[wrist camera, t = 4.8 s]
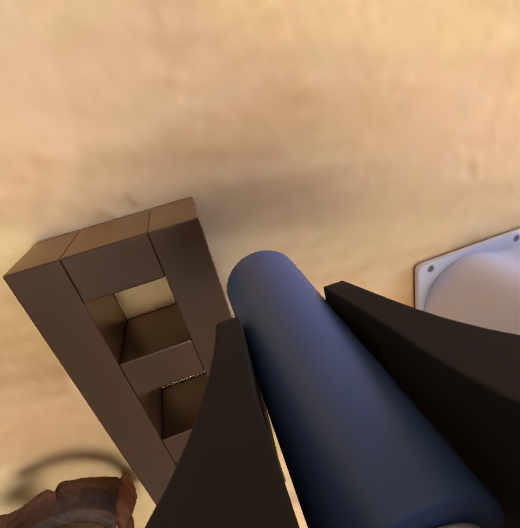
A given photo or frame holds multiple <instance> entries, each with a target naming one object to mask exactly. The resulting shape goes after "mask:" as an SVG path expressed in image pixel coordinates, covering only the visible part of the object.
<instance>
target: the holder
mask: <svg viewBox="0 0 520 528" xmlns="http://www.w3.org/2000/svg"><path fill="white" fill-rule="evenodd" d="M165 276H166V279H167V281H168V284H169V286H170V288H171V291H172V293H173V296H174V298H175V300H176V303H177V304H174V305H171V306H168V307H165V308H162V309H159V310H156V311H153V312H150V313H147V314H144V315H141V316H138V317H135V318H132V319H130V320H128V321H127V320H126V318H125V316H124V314H123V312H122V310H121V308H120V306H119V304H118V302H117V300H116V298H115V296H114V293H117V292H120V291H123V290H126V289H129V288H132V287H135V286H139V285H142V284H145V283H148V282H151V281H154V280H157V279H160V278H163V277H165ZM3 278H4V280H5V281H6V283H7V284H8V286H9V287H10V289H11V290H12V292H13V293H14V295H15V296H16V298H17V299H18V301H19V302H20V304H21V305H22V307H23V308H24V309H25V311H26V312H27V314H28V315H29V317H30V318H31V320H32V321H33V323H34V324H35V326H36V327H37V329H38V330H39V332H40V333H41V335H42V336H43V338H44V339H45V341H46V342H47V344H48V345H49V347H50V348H51V350H52V351H53V352H54V354H55V355H56V357H57V358H58V360H59V361H60V363H61V364H62V366H63V367H64V369H65V370H66V372H67V373H68V375H69V376H70V378H71V379H72V381H73V382H74V384H75V385H76V387H77V388H78V390H79V391H80V393H81V394H82V396H83V397H84V398H85V400H86V401H87V403H88V404H89V406H90V407H91V409H92V410H93V412H94V413H95V415H96V416H97V418H98V419H99V421H100V422H101V424H102V425H103V427H104V428H105V430H106V431H107V433H108V434H109V436H110V437H111V439H112V440H113V442H114V443H115V444H116V446H117V447H118V449H119V450H120V452H121V453H122V455H123V456H124V458H125V459H126V461H127V462H128V464H129V465H130V467H131V468H132V470H133V471H134V473H135V474H136V476H137V477H138V479H139V480H140V482H141V483H142V485H143V486H144V487H145V489H146V490H147V492H148V493H149V495H150V496H151V498H152V499H153V501H154V502H155V504H156V505H157V504H158V502H159V500H160V498H161V496H162V495H163V493H164V491H165V489H166V487H167V485H168V483H169V481H170V479H171V477H172V474H173V472H174V470H175V468H176V466H177V463H178V461H179V459H180V457H181V454H182V452H183V450H184V447H185V445H186V443H187V440H188V438H189V435H190V433H191V430H192V428H193V425H194V422H195V419H196V417H197V414H198V411H199V408H200V405H201V401H202V398H203V394H204V391H205V387H206V384H207V380H208V376H209V372H210V367H211V362H212V357H213V352H214V345H215V334H216V329H215V327H216V326H217V324H218V323H220V322H223V321H226V320H229V319H231V318H232V317H231V314H230V311H229V308H228V305H227V302H226V299H225V296H224V293H223V290H222V286H221V283H220V280H219V277H218V274H217V271H216V268H215V265H214V262H213V259H212V256H211V253H210V250H209V247H208V244H207V241H206V238H205V235H204V232H203V229H202V226H201V223H200V220H199V217H198V214H197V211H196V208H195V205H194V202H193V199H192V197H189V198H186V199H182V200H179V201H175V202H172V203H169V204H165V205H162V206H158V207H155V208H152V209H151V210H150V209H149V210H145V211H142V212H139V213H135V214H132V215H129V216H125V217H122V218H118V219H115V220H112V221H108V222H105V223H101V224H98V225H95V226H91V227H88V228H85V229H82V230H77V231H74V232H71V233H67V234H64V235H60V236H57V237H54V238H50V239H47V240H44V241H40V242H37V243H36V244H35V245H34V246H33V247H32V248H31V249H30V250H29V251H28V252H27V253H26V254H25V255H24V256H23V257H22V258H21V259H20V260H19V261H18V262H17V263H16V264H15V265H14V266H13V267H12V268H11V269H10V270H9V271H8V272H7V273H6V274H5V275H4V276H3ZM204 370H205V373H206V374H203V375H200V376H197V377H195V378H192V379H189V380H187V381H184V382H181V383H178V384H176V385H173V386H170V387H167V388H165V389H163V390H162V388H161V386H164V385H167V384H170V383H172V382H175V381H178V380H181V379H183V378H186V377H189V376H192V375H194V374H197V373H200V372H202V371H204ZM279 463H280V462H279ZM280 467H281V465H280ZM281 472H282V475H283V479H284V482H286V480H285V477H284V474H283V471H282V468H281Z"/></svg>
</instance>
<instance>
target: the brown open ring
mask: <svg viewBox="0 0 520 528" xmlns="http://www.w3.org/2000/svg"><path fill="white" fill-rule="evenodd" d="M136 499H137V494H136V489H135V486H134V484H133V483H132V481H131V480H130V478H129V477H128V476H127V475H126V474H124V475H123V476H122V477H121V478H120V479H119V478H118V477H89V478H80V479H76V480H70V481H64V482H61V483H60V484H59V485H58V486H57V488H56V491H55V492H53V491H51V490H45V491H44V492H42V493H40V494H39V495H37V496H36V497H34V498H33V499H32V500H31V501H30V502H28V503H27V504H25V505H24V506H23V507H21V508H20V509H18V510H16V511H14V512H12V513H10V514H4V515H0V528H57V527H60V526H62V525H67V524H71V523H75V522H92V523H96V524H99V525H102V526H104V527H106V528H115V527H116V524H117V525H118V528H134V520H133V517H132V513H133V510H134V507H135V503H136Z"/></svg>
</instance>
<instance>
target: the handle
mask: <svg viewBox="0 0 520 528" xmlns="http://www.w3.org/2000/svg"><path fill="white" fill-rule="evenodd" d="M227 293H228V297H229V300H230V303H231V306H232V309H233V312H234V315H235V317H237V316H238V318H239V320H240V323H241V325H242V328H243V331H244V334H245V338H246V341H247V344H248V347H249V351H250V354H251V358H252V362H253V366H254V370H255V374H256V378H257V381H258V384H259V387H260V390H261V393H262V396H263V399H264V402H265V405H266V407H267V410H268V413H269V416H270V419H271V422H272V425H273V428H274V431H275V434H276V436H277V439H278V442H279V445H280V448H281V451H282V454H283V457H284V460H285V463H286V466H287V468H288V471H289V474H290V477H291V480H292V483H293V486H294V489H295V492H296V495H297V497H298V500H299V503H300V506H301V509H302V512H303V515H304V518H305V521H306V524H307V526H308V528H503V525H504V519H505V517H504V512H503V509H502V507H501V505H500V503H499V502H498V501H497V500H496V499H495V497H494V496H493V495H492V494H491V493H490V492H489V490H488V489H487V488H486V487H485V486H484V485H483V483H482V482H481V481H480V480H479V479H478V478H477V476H476V475H475V474H474V473H473V472H472V471H471V469H470V468H469V467H468V466H467V465H466V464H465V462H464V461H463V460H462V459H461V458H460V457H459V455H458V454H457V453H456V452H455V451H454V450H453V448H452V447H451V446H450V445H449V444H448V443H447V441H446V440H445V439H444V438H443V437H442V436H441V434H440V433H439V432H438V431H437V430H436V429H435V427H434V426H433V425H432V424H431V423H430V422H429V420H428V419H427V418H426V417H425V416H424V415H423V413H422V412H421V411H420V410H419V409H418V408H417V406H416V405H415V404H414V403H413V402H412V401H411V399H410V398H409V397H408V396H407V395H406V394H405V392H404V391H403V390H402V389H401V388H400V387H399V386H398V384H397V383H396V382H395V381H394V380H393V379H392V377H391V376H390V375H389V374H388V373H387V372H386V370H385V369H384V368H383V367H382V366H381V365H380V363H379V362H378V361H377V360H376V359H375V358H374V356H373V355H372V354H371V353H370V352H369V351H368V349H367V348H366V347H365V346H364V345H363V344H362V342H361V341H360V340H359V339H358V338H357V337H356V335H355V334H354V333H353V332H352V331H351V330H350V328H349V327H348V326H347V325H346V324H345V323H344V321H343V320H342V319H341V318H340V317H339V316H338V314H337V313H336V312H335V311H334V310H333V309H332V307H331V306H330V305H329V304H328V303H327V302H326V300H325V299H324V298H323V297H322V296H321V295H320V293H319V292H318V291H317V290H316V289H315V288H314V286H313V285H312V284H311V283H310V282H309V281H308V279H307V278H306V277H305V276H304V275H303V274H302V272H301V271H300V270H299V269H298V268H297V267H296V265H295V264H294V263H293V262H292V261H291V260H290V259H289V258H288V257H287V256H285V255H284V254H282V253H279V252H276V251H259V252H255V253H252V254H250V255H248V256H246V257H245V258H243V259H242V260H241V261H240V262H238V263H237V265H236V266H235V267H234V268H233V270H232V272H231V274H230V276H229V279H228V283H227Z"/></svg>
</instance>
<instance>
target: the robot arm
mask: <svg viewBox="0 0 520 528" xmlns="http://www.w3.org/2000/svg"><path fill="white" fill-rule="evenodd" d="M429 266H430V268H429ZM428 268H429V269H428ZM324 292H325V299H326V302H327V303H328V304H329V305H330V306H331V307H332V309H333V310H334V311H335V312H336V313H337V314H338V316H339V317H340V318H341V319H342V320H343V321H344V323H345V324H346V325H347V326H348V327H349V328H350V330H351V331H352V332H353V333H354V334H355V335H356V337H357V338H358V339H359V340H360V341H361V342H362V344H363V345H364V346H365V347H366V348H367V349H368V351H369V352H370V353H371V354H372V355H373V356H374V358H375V359H376V360H377V361H378V362H379V363H380V365H381V366H382V367H383V368H384V369H385V370H386V372H387V373H388V374H389V375H390V376H391V377H392V379H393V380H394V381H395V382H396V383H397V384H398V386H399V387H400V388H401V389H402V390H403V391H404V392H405V394H406V395H407V396H408V397H409V398H410V399H411V401H412V402H413V403H414V404H415V405H416V406H417V408H418V409H419V410H420V411H421V412H422V413H423V415H424V416H425V417H426V418H427V419H428V420H429V422H430V423H431V424H432V425H433V426H434V427H435V429H436V430H437V431H438V432H439V433H440V434H441V436H442V437H443V438H444V439H445V440H446V441H447V443H448V444H449V445H450V446H451V447H452V448H453V450H454V451H455V452H456V453H457V454H458V455H459V457H460V458H461V459H462V460H463V461H464V462H465V464H466V465H467V466H468V467H469V468H470V469H471V471H472V472H473V473H474V474H475V475H476V476H477V478H478V479H479V480H480V481H481V482H482V483H483V485H484V486H485V487H486V488H487V489H488V490H489V492H490V493H491V494H492V495H493V496H494V497H495V499H496V500H497V501H498V502H499V503H500V505H501V507H502V509H503V512H504V517H505V519H504V525H503V528H520V228H518V229H516V230H513V231H510V232H507V233H504V234H502V235H499V236H496V237H493V238H490V239H487V240H485V241H482V242H479V243H476V244H473V245H470V246H468V247H465V248H462V249H459V250H456V251H453V252H451V253H448V254H445V255H442V256H439V257H436V258H434V259H431V260H428V261H425V262H422V263H420V264H418V265H417V266H416V268H415V308H413V307H410V306H407V305H404V304H401V303H399V302H396V301H393V300H391V299H388V298H385V297H383V296H380V295H378V294H375V293H373V292H370V291H368V290H365V289H363V288H360V287H358V286H355V285H352V284H350V283H347V282H344V281H340V282H337V283H334V284H331V285H328V286H325V287H324ZM215 329H216V334H215V345H214V352H213V357H212V362H211V367H210V372H209V376H208V380H207V384H206V387H205V391H204V394H203V398H202V401H201V405H200V408H199V411H198V414H197V417H196V419H195V422H194V425H193V428H192V430H191V433H190V435H189V438H188V440H187V443H186V445H185V447H184V450H183V452H182V454H181V457H180V459H179V461H178V463H177V466H176V468H175V470H174V472H173V474H172V477H171V479H170V481H169V483H168V485H167V487H166V489H165V491H164V493H163V495H162V496H161V498H160V500H159V502H158V504H157V506H156V508H155V510H154V511H153V513H152V515H151V517H150V519H149V521H148V523H147V525H146V527H145V528H299V525H298V522H297V519H296V516H295V513H294V510H293V507H292V504H291V500H290V497H289V494H288V491H287V488H286V485H285V482H284V479H283V475H282V472H281V467H280V463H279V459H278V455H277V451H276V446H275V442H274V438H273V434H272V429H271V425H270V421H269V417H268V413H267V408H266V405H265V402H264V399H263V396H262V393H261V390H260V387H259V384H258V381H257V378H256V374H255V370H254V366H253V362H252V358H251V354H250V351H249V347H248V344H247V341H246V338H245V334H244V331H243V328H242V325H241V323H240V320H239V318H238V316H237V317H234V318H231V319H229V320H226V321H223V322H220V323H218V324H217V326H216V327H215Z"/></svg>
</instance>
